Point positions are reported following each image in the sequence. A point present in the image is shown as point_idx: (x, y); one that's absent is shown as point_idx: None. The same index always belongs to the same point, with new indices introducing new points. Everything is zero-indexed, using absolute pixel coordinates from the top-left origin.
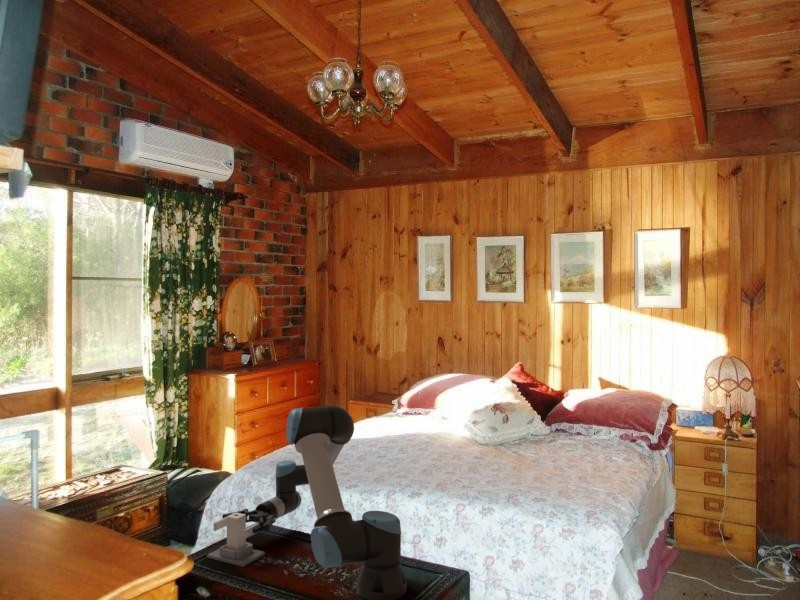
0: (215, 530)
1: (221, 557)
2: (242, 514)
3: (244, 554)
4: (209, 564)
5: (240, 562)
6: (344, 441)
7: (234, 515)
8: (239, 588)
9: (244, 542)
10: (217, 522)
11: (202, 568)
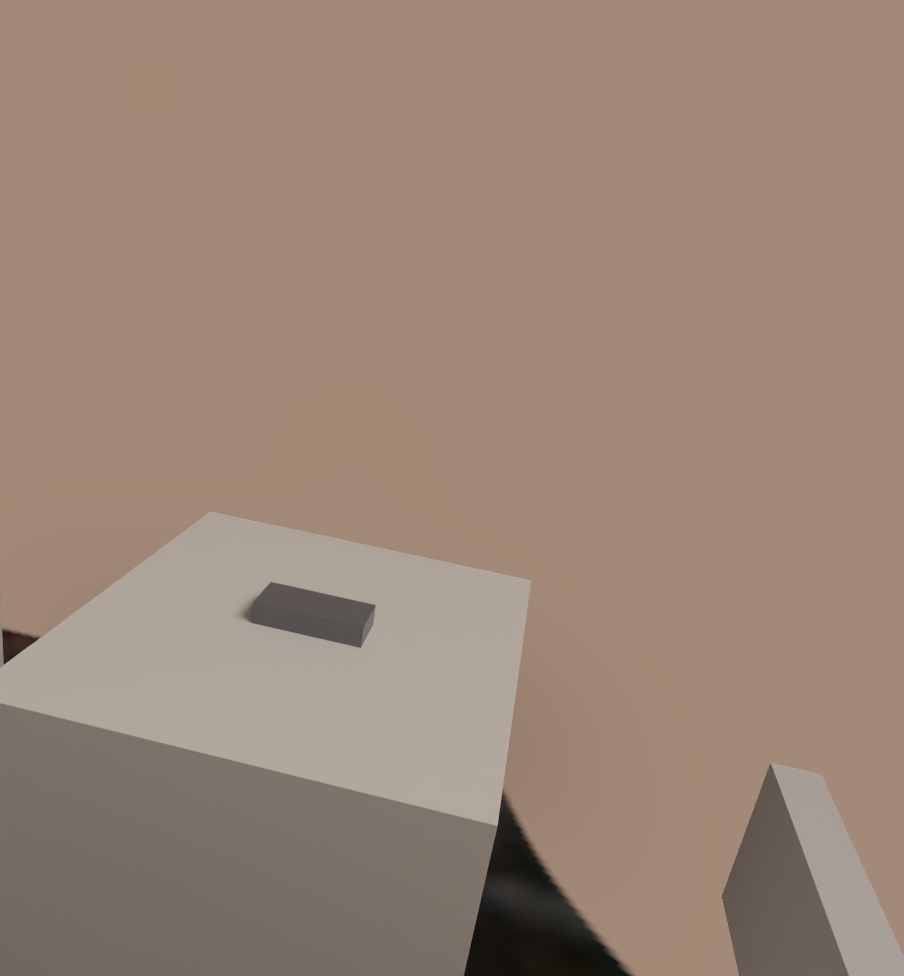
0: (727, 898)
1: None
2: (116, 686)
3: None
4: (501, 954)
5: None
6: None
7: (368, 620)
8: (27, 637)
9: None
10: (787, 821)
11: (506, 859)
